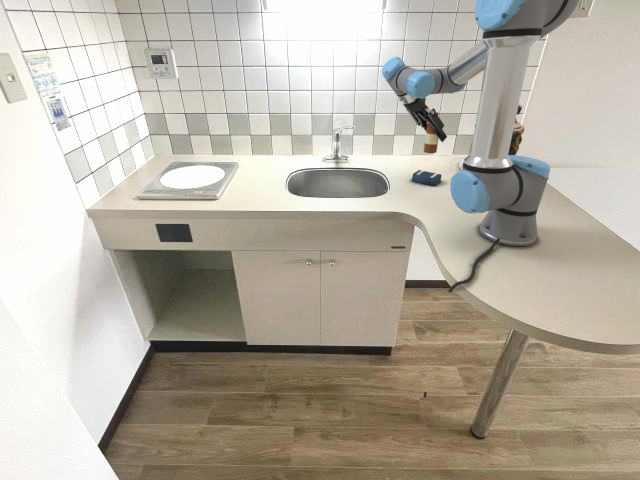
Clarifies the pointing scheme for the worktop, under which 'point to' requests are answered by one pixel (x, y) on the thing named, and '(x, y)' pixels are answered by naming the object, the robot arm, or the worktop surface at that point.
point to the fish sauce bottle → (431, 139)
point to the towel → (426, 177)
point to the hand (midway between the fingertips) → (438, 137)
